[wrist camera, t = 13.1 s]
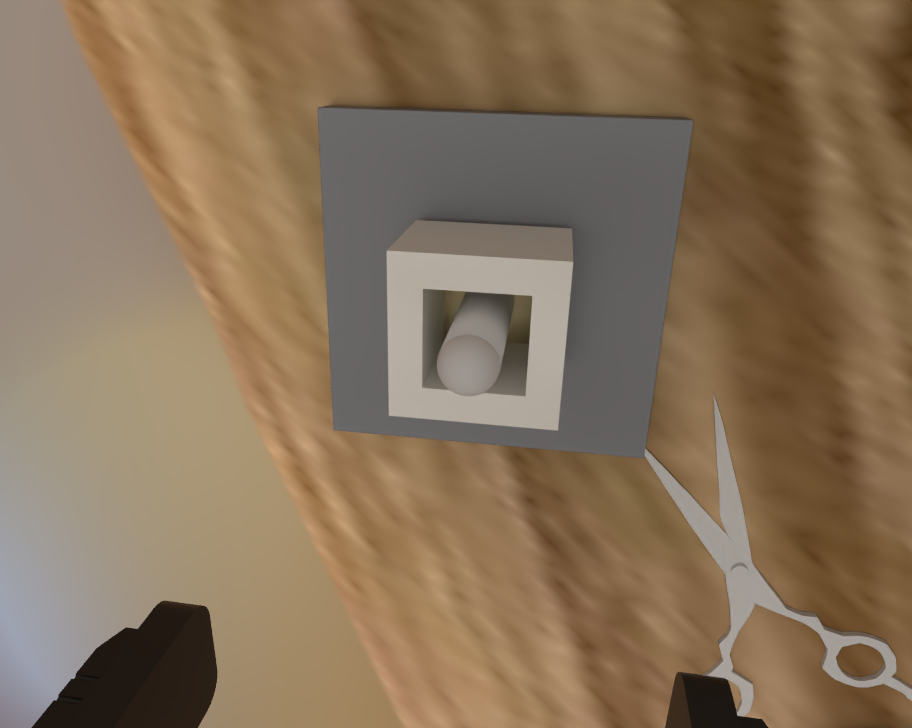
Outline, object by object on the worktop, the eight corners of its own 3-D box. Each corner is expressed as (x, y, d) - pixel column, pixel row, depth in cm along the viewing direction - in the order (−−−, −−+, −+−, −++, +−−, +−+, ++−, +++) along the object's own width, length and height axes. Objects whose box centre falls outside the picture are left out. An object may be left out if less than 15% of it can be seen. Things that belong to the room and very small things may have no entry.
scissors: (716, 748, 39) (559, 455, 33) (713, 736, 39) (559, 447, 34) (925, 700, 36) (791, 366, 30) (918, 687, 36) (786, 359, 30)
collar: (572, 228, 27) (573, 261, 22) (559, 373, 29) (558, 430, 25) (416, 220, 28) (386, 250, 23) (415, 362, 30) (388, 415, 25)
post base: (687, 117, 27) (748, 144, 18) (640, 441, 32) (670, 588, 23) (329, 105, 29) (219, 124, 20) (342, 415, 34) (261, 543, 25)
